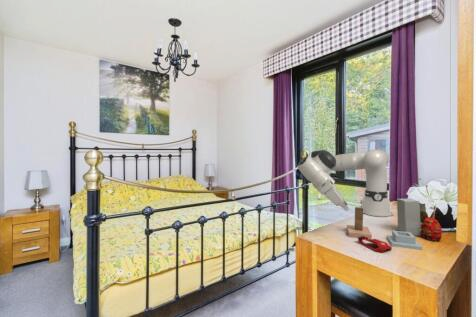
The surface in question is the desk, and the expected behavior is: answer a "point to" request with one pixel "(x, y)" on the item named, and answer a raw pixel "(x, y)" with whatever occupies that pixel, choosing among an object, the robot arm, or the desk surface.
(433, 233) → the red clay folk toy
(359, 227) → the post
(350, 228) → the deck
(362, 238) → the tracker holder
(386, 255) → the desk surface
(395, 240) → the grey square socket base
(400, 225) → the skincare box
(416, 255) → the desk surface
